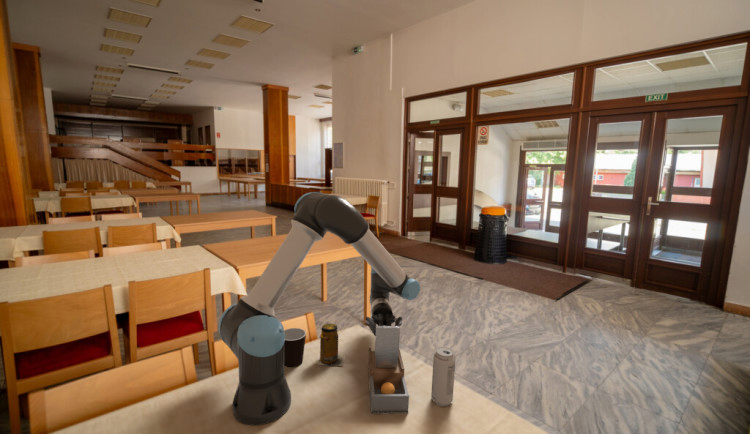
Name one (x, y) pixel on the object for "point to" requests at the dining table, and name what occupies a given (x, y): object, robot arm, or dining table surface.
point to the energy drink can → (443, 376)
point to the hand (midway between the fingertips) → (388, 344)
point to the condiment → (330, 347)
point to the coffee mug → (294, 347)
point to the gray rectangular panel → (387, 346)
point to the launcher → (384, 372)
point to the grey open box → (389, 399)
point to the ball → (387, 388)
